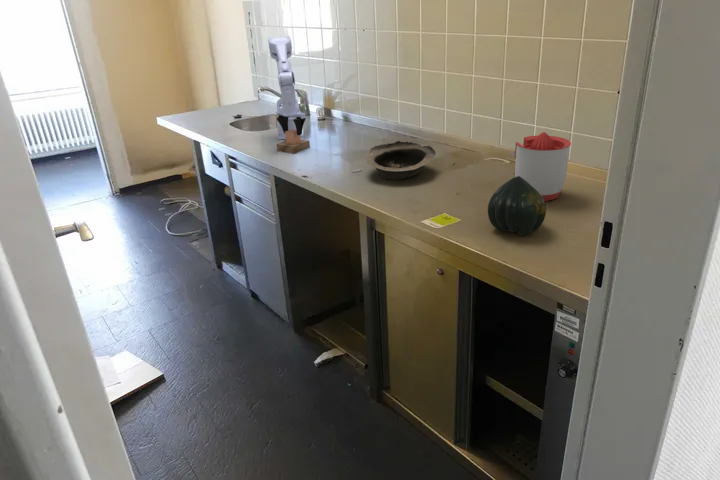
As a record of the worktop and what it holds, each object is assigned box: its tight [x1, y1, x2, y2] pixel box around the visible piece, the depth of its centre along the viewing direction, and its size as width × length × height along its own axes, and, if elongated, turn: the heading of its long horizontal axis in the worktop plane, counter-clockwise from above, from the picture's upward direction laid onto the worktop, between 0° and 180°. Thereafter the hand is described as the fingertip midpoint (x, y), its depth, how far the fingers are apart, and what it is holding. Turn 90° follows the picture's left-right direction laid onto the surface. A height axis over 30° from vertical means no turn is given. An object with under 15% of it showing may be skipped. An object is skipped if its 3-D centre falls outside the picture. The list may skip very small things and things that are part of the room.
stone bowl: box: [365, 140, 436, 181], centre depth 193 cm, size 25×25×9 cm
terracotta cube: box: [285, 129, 302, 144], centre depth 231 cm, size 4×4×5 cm
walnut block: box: [276, 139, 311, 155], centre depth 233 cm, size 10×10×4 cm
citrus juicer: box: [510, 131, 572, 202], centre depth 165 cm, size 16×17×20 cm
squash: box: [487, 176, 547, 236], centre depth 145 cm, size 14×15×15 cm
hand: (292, 134), depth 231 cm, fingers open, 7 cm apart
